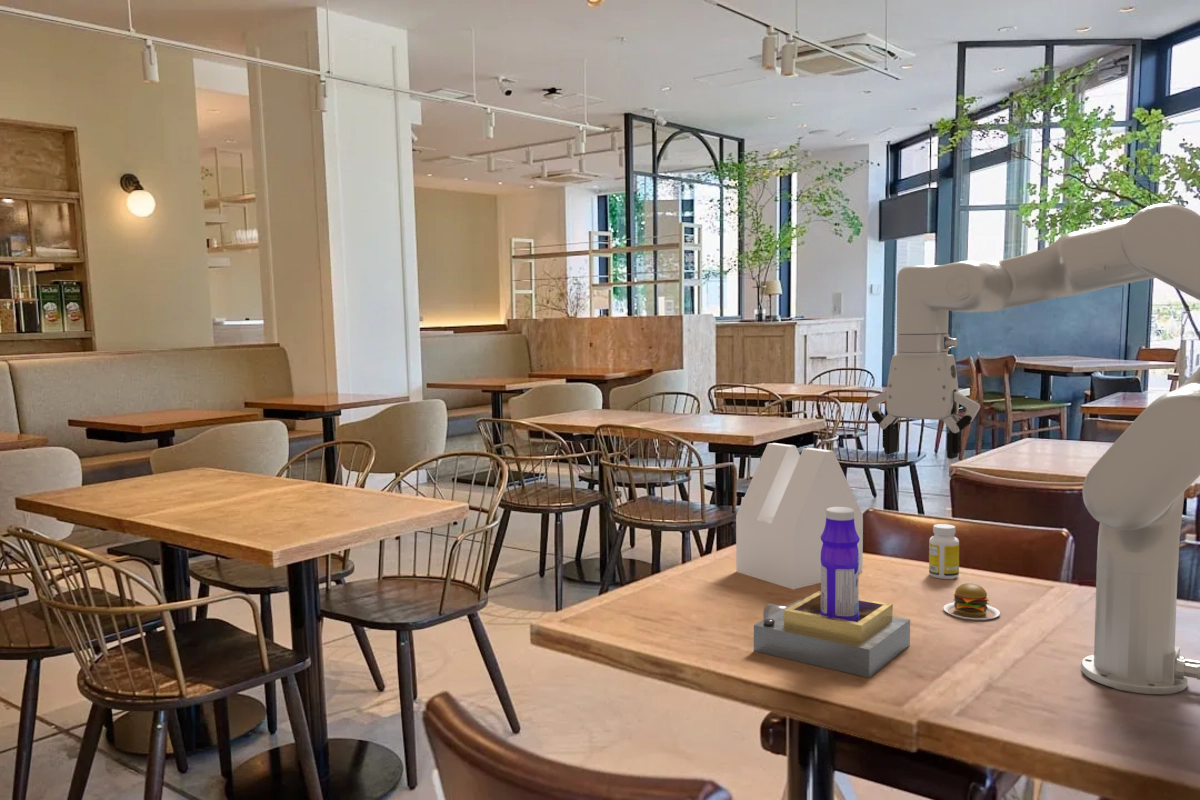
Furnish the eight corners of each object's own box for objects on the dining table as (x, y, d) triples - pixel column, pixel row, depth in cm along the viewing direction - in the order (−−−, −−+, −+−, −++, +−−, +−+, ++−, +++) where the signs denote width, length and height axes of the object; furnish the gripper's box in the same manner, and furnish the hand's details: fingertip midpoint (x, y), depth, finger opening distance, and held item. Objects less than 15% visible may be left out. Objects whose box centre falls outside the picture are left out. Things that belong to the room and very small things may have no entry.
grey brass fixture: (909, 644, 140) (910, 603, 139) (869, 677, 127) (869, 632, 127) (779, 618, 153) (779, 580, 153) (730, 645, 141) (730, 604, 140)
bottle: (860, 632, 134) (861, 514, 133) (820, 629, 135) (821, 513, 134) (857, 616, 141) (858, 504, 140) (819, 614, 142) (820, 503, 141)
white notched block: (803, 557, 193) (804, 439, 191) (862, 572, 181) (863, 446, 179) (736, 572, 182) (735, 447, 180) (793, 590, 170) (793, 456, 168)
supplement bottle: (961, 574, 178) (962, 524, 177) (955, 581, 173) (956, 530, 172) (932, 570, 181) (933, 521, 180) (925, 577, 176) (926, 527, 175)
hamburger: (992, 633, 146) (993, 599, 146) (920, 617, 155) (921, 585, 154) (1021, 615, 155) (1022, 583, 154) (952, 601, 163) (952, 570, 163)
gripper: (987, 345, 140) (985, 456, 141) (876, 345, 150) (876, 448, 152) (972, 346, 134) (971, 462, 135) (858, 346, 145) (858, 454, 146)
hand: (920, 455), depth 144 cm, fingers open, 9 cm apart
